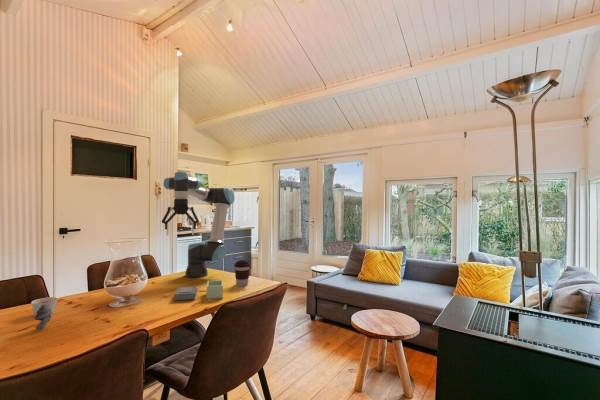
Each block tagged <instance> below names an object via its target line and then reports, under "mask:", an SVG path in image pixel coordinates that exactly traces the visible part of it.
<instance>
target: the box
mask: <svg viewBox="0 0 600 400" xmlns="http://www.w3.org/2000/svg"><path fill="white" fill-rule="evenodd" d="M220 299H222V300H223V299H224V280H223V279H219V280H218V279H217V280H207V283H206V301H207V300H220Z"/></svg>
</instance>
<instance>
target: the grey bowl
mask: <svg viewBox="0 0 600 400" xmlns="http://www.w3.org/2000/svg"><path fill="white" fill-rule="evenodd" d="M57 301H58V298H57V296H56V297H54V296H50V297H42V298H37V299H35V300H34V299H33V300H32V301H31V308H32V311H33V316H34V317H35V316H36V315H37V314H36V312H37V311H38V310H39V308H40V307H41V306H42V305H43V304H45V305H48V306H49V309H50V310H51V312H52V313H51V314H50V315H52V314H54V313H55V309H56V305H57Z"/></svg>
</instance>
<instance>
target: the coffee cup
mask: <svg viewBox="0 0 600 400" xmlns="http://www.w3.org/2000/svg"><path fill="white" fill-rule="evenodd" d="M233 265H234V268H235V269H234V274H235V275H234V277H235V285H236V286H237V287H246V286H248V285H249V278H250V267H251V262H249V261H248V260H247V259H246V260H245V259H241V260H240V259H239V260H237V261H236V262H234V264H233Z"/></svg>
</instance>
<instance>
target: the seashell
mask: <svg viewBox="0 0 600 400" xmlns="http://www.w3.org/2000/svg"><path fill="white" fill-rule="evenodd" d="M51 313H52V312H51V310H50V309H49V306H48V305H45V304H43V305H42V306H41V307H40V308H39V310H38V311H37V312H36V314H37V315H36V316H34V320H36V321H40V322H39V323H38V324H37V325H36V326H35V329H36V330H38V331H43V329H44V328H45V327H46V325H47V323H49V321H50V320H51V319H52V314H53V313H52V314H51Z"/></svg>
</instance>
